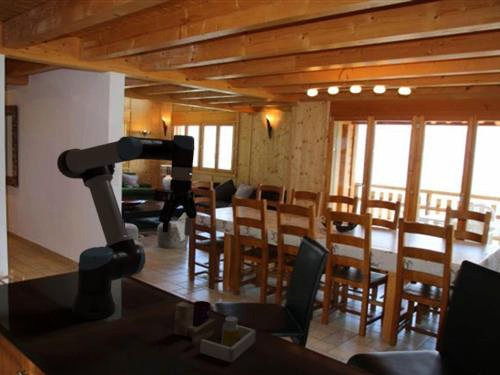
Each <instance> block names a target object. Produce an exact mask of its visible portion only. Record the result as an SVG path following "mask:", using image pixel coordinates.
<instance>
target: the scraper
mask: <svg viewBox="0 0 500 375" xmlns="http://www.w3.org/2000/svg"><path fill="white" fill-rule="evenodd" d="M193 314H194V305H192V304H190V303H189V304H188V302H183V301H180V302H179V303H176V305H175V313H174V315H175V316H174V328H173V330H174V331H173V334H175V335H178V336H182V337H186V338H188V337H189V338H191V346H192V347H197V346H198V345H200V344H201V340H202V339H204V340H207V339H208V338H210V337H211V336H213V335H214V334H215V324H216V319H215V318H210V320H208V321H207V322H205V323H204V324H202V325H198V326H196V325H194V324H193Z"/></svg>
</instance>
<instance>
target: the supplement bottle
mask: <svg viewBox="0 0 500 375" xmlns="http://www.w3.org/2000/svg"><path fill="white" fill-rule="evenodd" d="M238 321H239V320H238V318H237V317H235V316H233V315H232V316H226V317H225V319H224V323H223V325H222V328H221V329H222V330H221V340H220V341H221V342H220V344H221V345H224V346H228V347H232V346H233V345H234V344H236V343H237V342H238V341H239V338H238V333H239V326H238V325H239V324H238Z"/></svg>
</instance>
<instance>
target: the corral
mask: <svg viewBox="0 0 500 375" xmlns="http://www.w3.org/2000/svg"><path fill="white" fill-rule="evenodd" d="M237 325H238V326H239V333H238V342H237V343H236V344H234V345H233V346H232V347H228V346H224V345H221V343H218V342H214V341H211V340H207V339H206V340H204V339H202V340H201V343H200V344H199V346H200V347H199V354H203V355H206V356H209V357H213V358H215V359H219V360H222V361H225V362H228V363H230V364H231V363H233V362H234V361H236V359H238V357H240V356H241V355H242V354H243V353H244V352H246V351H247V350H248V349H249V348H250V347H251V346H252V345H253V344H254V343H255V342H256V341H257V340H256V337H257V329H254V328H251V327H250V328H249V327H246V326H243V325H239V324H237Z"/></svg>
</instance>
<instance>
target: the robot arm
mask: <svg viewBox="0 0 500 375" xmlns="http://www.w3.org/2000/svg"><path fill="white" fill-rule="evenodd" d="M172 136H173V137H172V139H163V138H152V137H151V138H150V137H139V136H133V135H128V136H121V137H120V138H119V139H118V140H116V141H113V142H109V143H104V144H100V145H95V146H91V147H87V148H83V149H80V148H72V149H66V150H64V151H62V152H61V153H60V154H59V156H58V158H57V160H56V161H57V162H56V165H57V170H58V171H59V172H60V173H61V175H63V176H65V177H66V178H68V179H75V180H78V179H81V180H82V182H83V185H84V187H85V188H87V189H89V191H90V192H89V193H90V194H91V198H92V200H93V204H94V207H95V211H96V213H97V216H98V220H99V223H100V226H101V229H102V233H103V235H104V238H105V242H106V244H105V246H93V247H90V248H87V249H85V250H83V251H82V252H81V253H80V255H79V259H78V264H77V265H78V266H77V267H78V276H77V277H78V278H77V293H76V295H75V298H74V301H73V304H72V305H71V315H72V316H73V317H74V318H76V319H80V320H87V321H90V320H91V321H93V320H102V319H105V318H108V317H112V316H113V315H114V313H115V312H116V304H115V302H114V297H113V293H112V282H113V281H116V280H120V279H124V278H128V277H129V278H130V277H132V276H134V275H137V274H140V272H141V271H142V270H143V269H144V267H145V264H146V253H145V250H144V249H143V246H141V245H139V244H136V242H135V240H134V238H133V237H131V236H129V235H128V231H127V228H126V225H125V223H124V219H123V216H122V213H121V210H120V206H119V204H118V200H117V198H116V194H115V191H114V189H113V185H112V183H111V182H112V180H113V178H114V176H113V175H114V174H115V172H116V169H115V168H116V164H119V163H125V162H130V161H135V160H151V161H152V160H153V161H167V162H168V161H169V162H171V166H170V167H171V168H170V177H171V179H170V181H169V182H170V184H169V189H170V190H171V191H172V192H171V193H168V192H167V193H166V194H165V200H164V203H163V206H162V208H161V211H160V215H159V216H158V221H159V222H161V223H162V239H161V242H167V243H170V242H171V231H172V222H171V220H172V218H173V216H174V215H175V212H176V211H177V209H178V208H179V207H180V206H182V209H183V210H184V212H185V215H186V217H185V222H184V223H185V224H184V234H183V235H184V236H187V237H188V236H190V237H192V236H193V225H194V223H193V221H194V219H196V218H197V216H198V212H197V207H196V203H195V197H194V196H195V193H194V191H191V190H192V188H193V187H192V186H193V180H192V179H193V173H194V171H193V169H194V157H195V156H194V154H195V149H196V147H195V137H194V136H192V135H185V134H184V135H183V134H174V135H172Z"/></svg>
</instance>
